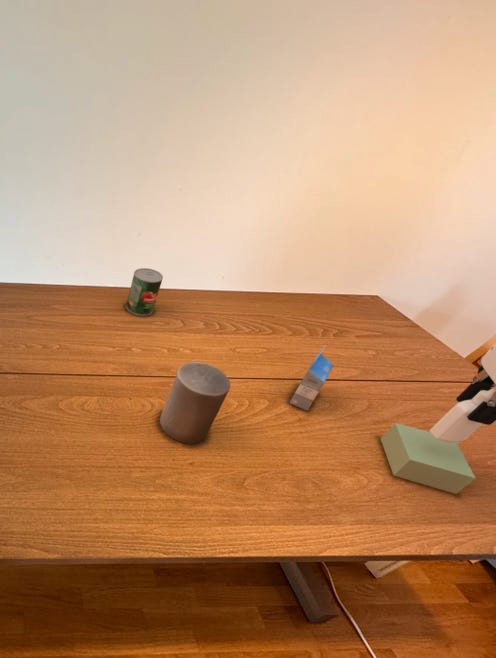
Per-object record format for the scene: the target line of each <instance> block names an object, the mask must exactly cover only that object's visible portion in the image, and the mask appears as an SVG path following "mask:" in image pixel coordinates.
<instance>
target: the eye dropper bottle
mask: <svg viewBox="0 0 496 658" xmlns="http://www.w3.org/2000/svg"><path fill="white" fill-rule="evenodd" d="M491 388H492V389H490V390H489V391H486V390H481V391H480V392H479V393H478V394H477V395H476V396H475V397H474V398H473V399H472V400H465V401H462V402H457V403H456V404H455V405H453V406H452V407H451V408H450V409H449V410H448V411H447V412H445V414H444V415H443V416H442V417H441V418H440V419H439V420H438V421H436V422H435V424H434V425H433V426H432V427H431V428H430V429H429V431H428V432H430V433H431V434H432V435H433V436H434V437H435V438H436V439H437V440H439V441H443V442H448V443H457V444H458V443H461V442H464V441H465V440H467V439H468V438H469V437H470V436H471V435H473V433H474V432H476V431H477V430H478V429H479V428H480V427H481V426H482V425H483V424H482V423H478V422H474V421H470V420H468V418H467V416H468V415H469V414H470V413H471V412H472V411H473V410H474V409H475V408H476V407H478V406H479V405H480V404H481V403H482V402H483V401H485V402H488V400H489V399H490V398H491V397H492V395H493V394H494V393H495V392H496V387H491Z"/></svg>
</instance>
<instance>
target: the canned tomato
mask: <svg viewBox="0 0 496 658" xmlns="http://www.w3.org/2000/svg"><path fill="white" fill-rule="evenodd" d="M163 279H164V275H163V274H162V273H161V272H160V271H158V270H156V269H152V268H145V267H144V268H143V267H142V268H141V267H140V268H138V269H135V270H134V272H133V277H132V281H131V285H130V289H129V292H128V296H127V301H126V304H125V308H126V310H127V311H128V312H129V313H131V314H133V315H136V316H139V317H140V316H141V317H145V316H149V315H152V314H153V312H154V308H155V306H156V303H157V299H158V295H159V292H160V289H161V286H162V282H163Z"/></svg>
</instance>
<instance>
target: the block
mask: <svg viewBox="0 0 496 658" xmlns="http://www.w3.org/2000/svg"><path fill="white" fill-rule="evenodd" d="M380 441H381V444H382V448H383V450H384V453H385V455H386V458H387V461H388V463H389V466H390V469H391V472H392V475H393V477H397V478H400V479H403V480H406V481H411V482H413V483H418V484H420V485H424V486H427V487H430V488H434V489H436V490H441V491H443V492H448V493H451V494H454V495H457V494H459V492H461V491H462V490H463V489H464V488H466V487H467V486H469V484H470V483H472V482H473V481H474V480H476V479H477V478H476V476H475V474H474V472H473V471H472V467H470V465H469V463H468V461H467V459H466V457H465V455H464V454H463V452H462V450H461V448H460V446H459V444H458V443H448V442H443V441H439V440H437V439H436V438H435V437H434V436H433V435H432V434H431V433H430V432H429V431H428V430H424V429H422V428H421V429H420V428H416V427H413V426H409V425H405V424H401V423H398V422H394V423H393V424H392V425H391V426H390V427H389V429H388V430H386V432H385V433H384V434H383V435H382V436H381V437H380Z"/></svg>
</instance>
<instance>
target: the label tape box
mask: <svg viewBox="0 0 496 658" xmlns="http://www.w3.org/2000/svg"><path fill="white" fill-rule="evenodd" d="M327 345H328V344H324V346H323V347H322V348H321V349H320V350H319V352H318V353H317V354H316V357H314V359H313V361H312V362H311V364H310V366H309V368H308V370H306V373H305V374H304V376H303V378H302V379H301V381H300V383H299V385H298V386H297V388H296V390H295V392H294V394H293V395H292V397H291V400H289V404H290V405H292V406H294V407H297V408H299V409H302V410H304V411H305V412H306V411H307V412H308V410H310V407H311V405H312V404H313V402H314V400H316V397H317V396H318V394H319V393H320V391H321V390H322V388H323V386H324V384H325V383H326V381H327V380H328V378H329V375H330V373H331V371H332V369H333V368H334V363H333V362H331V361H330V360H329V358H327V357H326V356H325V355H323V354H322V352H323V350H324V348H325V347H326V346H327Z"/></svg>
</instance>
